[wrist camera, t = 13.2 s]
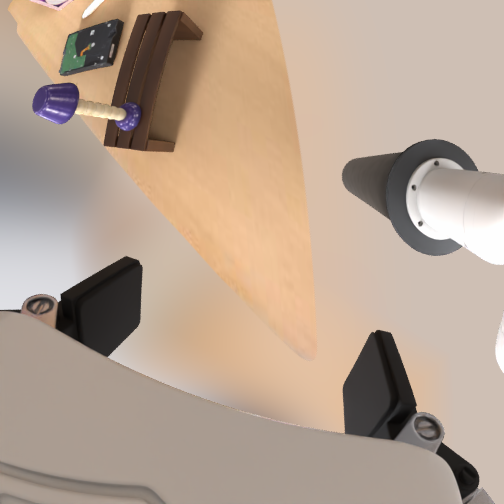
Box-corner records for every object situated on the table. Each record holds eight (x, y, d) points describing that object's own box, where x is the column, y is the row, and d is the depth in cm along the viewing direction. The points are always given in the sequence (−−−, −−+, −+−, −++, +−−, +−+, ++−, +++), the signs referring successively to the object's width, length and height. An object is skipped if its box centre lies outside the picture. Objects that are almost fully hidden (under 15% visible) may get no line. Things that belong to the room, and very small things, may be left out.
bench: (203, 32, 37) (182, 10, 28) (173, 152, 44) (144, 151, 35) (162, 33, 37) (136, 15, 29) (134, 146, 45) (102, 145, 36)
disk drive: (126, 22, 37) (75, 37, 39) (118, 17, 35) (67, 34, 37) (114, 66, 41) (65, 77, 43) (106, 62, 38) (56, 75, 40)
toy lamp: (111, 118, 35) (22, 110, 19) (129, 92, 33) (42, 71, 18) (129, 136, 35) (37, 133, 19) (148, 110, 34) (59, 91, 18)
